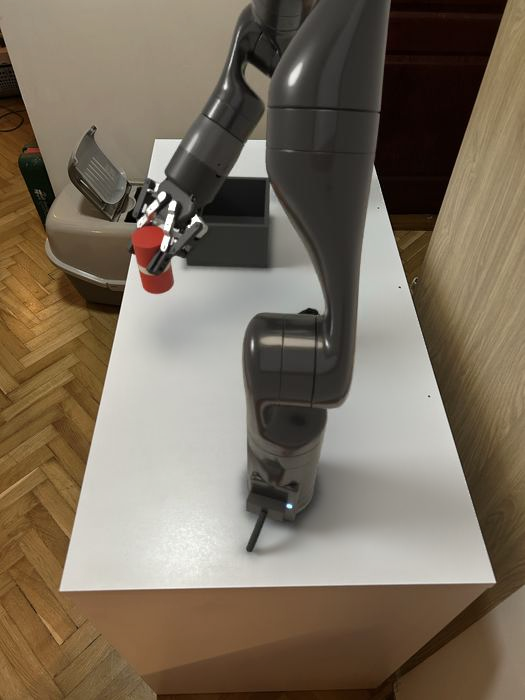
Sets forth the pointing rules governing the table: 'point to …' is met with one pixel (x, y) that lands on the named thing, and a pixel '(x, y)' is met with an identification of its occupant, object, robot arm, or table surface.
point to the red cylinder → (145, 249)
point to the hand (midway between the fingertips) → (142, 262)
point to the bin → (236, 225)
